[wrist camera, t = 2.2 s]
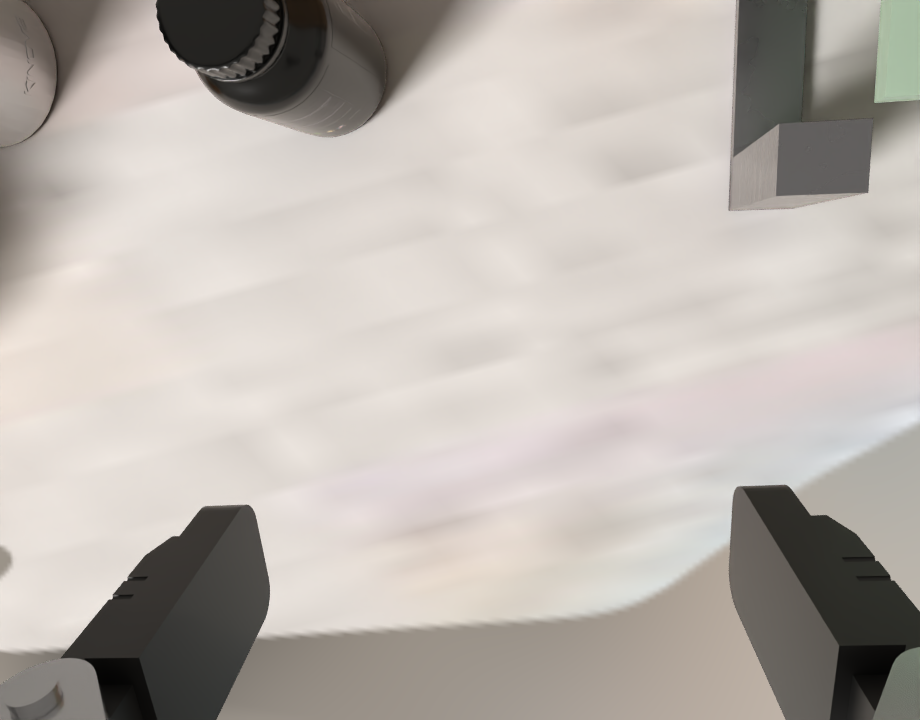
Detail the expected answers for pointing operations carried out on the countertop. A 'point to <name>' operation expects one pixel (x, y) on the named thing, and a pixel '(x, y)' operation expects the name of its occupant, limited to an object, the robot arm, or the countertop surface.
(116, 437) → the countertop surface
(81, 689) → the robot arm
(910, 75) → the trapdoor
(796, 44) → the trapdoor frame
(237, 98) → the supplement bottle
